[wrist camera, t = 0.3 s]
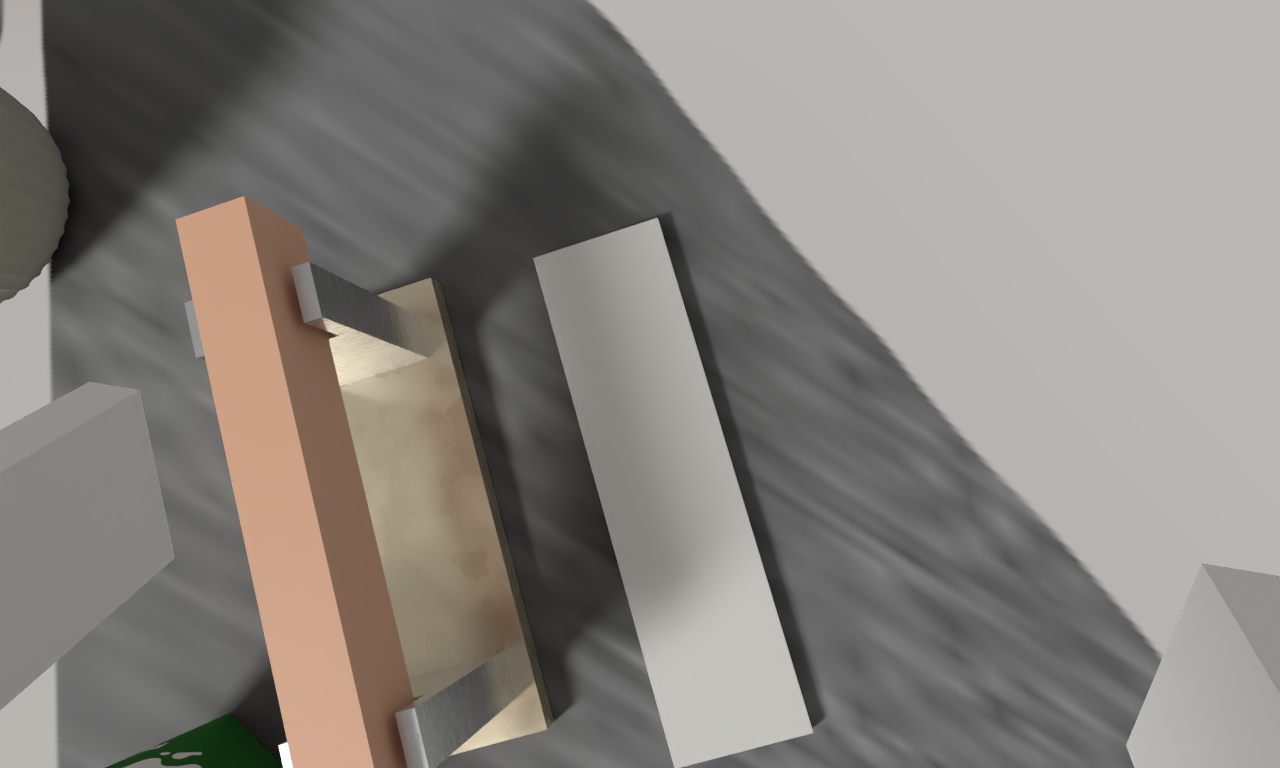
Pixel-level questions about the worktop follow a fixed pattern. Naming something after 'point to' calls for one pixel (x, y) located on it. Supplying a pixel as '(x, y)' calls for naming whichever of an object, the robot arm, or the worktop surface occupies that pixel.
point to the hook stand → (429, 516)
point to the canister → (28, 196)
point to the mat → (671, 498)
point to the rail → (297, 492)
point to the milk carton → (207, 749)
